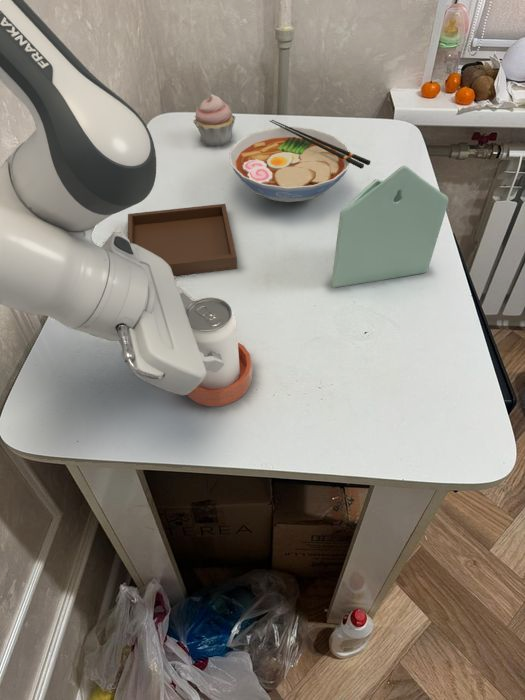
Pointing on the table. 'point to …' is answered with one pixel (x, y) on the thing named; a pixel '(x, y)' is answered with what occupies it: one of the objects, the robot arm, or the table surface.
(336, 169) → the ramen bowl
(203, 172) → the table surface
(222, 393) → the bowl
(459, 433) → the table surface
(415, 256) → the planter
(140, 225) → the tray
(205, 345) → the can
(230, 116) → the cupcake
